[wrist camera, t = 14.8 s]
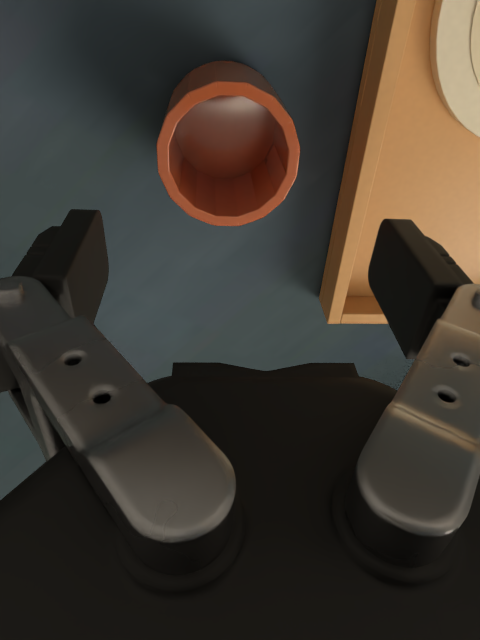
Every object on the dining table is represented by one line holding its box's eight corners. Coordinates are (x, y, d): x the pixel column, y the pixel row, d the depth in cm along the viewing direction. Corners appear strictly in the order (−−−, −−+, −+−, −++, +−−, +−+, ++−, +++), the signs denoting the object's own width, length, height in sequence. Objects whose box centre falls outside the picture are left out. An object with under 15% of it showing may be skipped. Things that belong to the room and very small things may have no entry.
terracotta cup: (168, 181, 25) (160, 224, 21) (163, 57, 21) (152, 78, 17) (276, 184, 25) (290, 227, 21) (288, 63, 22) (309, 85, 17)
